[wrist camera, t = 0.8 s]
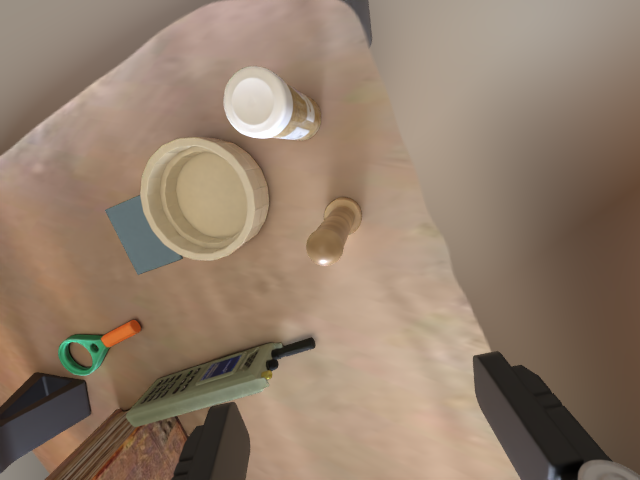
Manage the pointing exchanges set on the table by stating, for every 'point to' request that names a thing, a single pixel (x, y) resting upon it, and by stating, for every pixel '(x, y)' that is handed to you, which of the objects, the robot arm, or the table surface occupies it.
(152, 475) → the book
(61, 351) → the magnifying glass
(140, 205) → the rest mat
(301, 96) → the sprinkles bottle
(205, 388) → the handheld radio
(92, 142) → the table surface
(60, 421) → the phone stand
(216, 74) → the table surface
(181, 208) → the bowl
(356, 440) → the table surface
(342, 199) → the wooden pestle
